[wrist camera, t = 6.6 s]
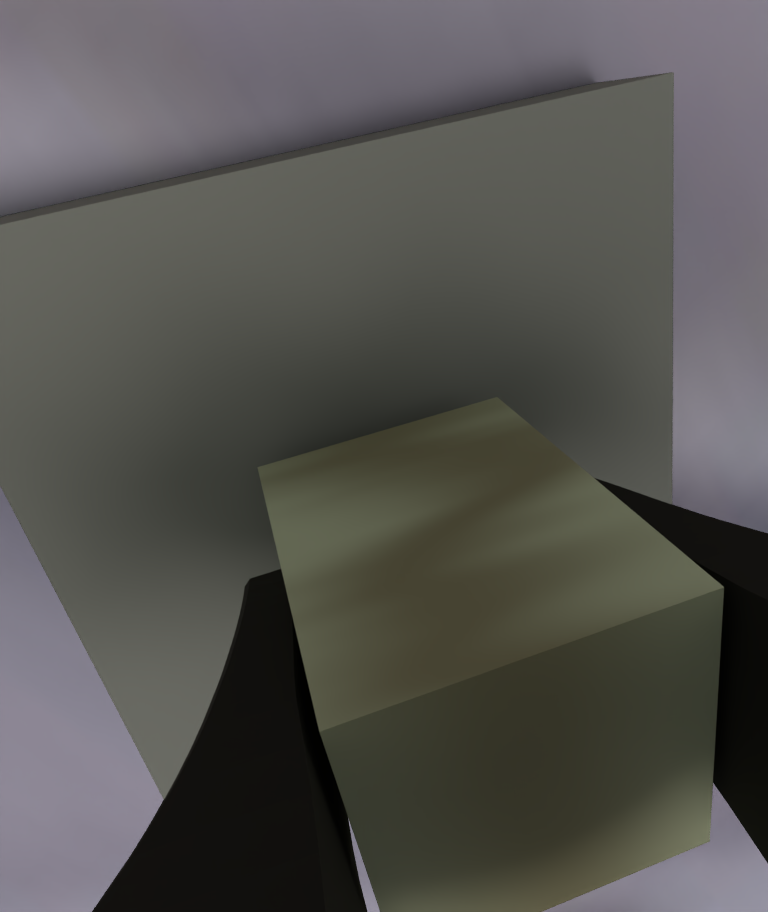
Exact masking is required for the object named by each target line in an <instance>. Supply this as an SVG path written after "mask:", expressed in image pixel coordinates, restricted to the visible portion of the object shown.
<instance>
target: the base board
mask: <svg viewBox="0 0 768 912" xmlns="http://www.w3.org/2000/svg"><path fill="white" fill-rule="evenodd" d="M673 100H674V72H672V73H665V74H658V75H650V76H643V77H636V78H628V79H621V80H614V81H606V82H599V83H594V84H589V85H585V86H580V87H576V88H571V89H567V90H562V91H558V92H554V93H549V94H545V95H540V96H536V97H531V98H527V99H522V100H518V101H514V102H509V103H505V104H500V105H496V106H491V107H487V108H482V109H478V110H473V111H469V112H465V113H460V114H456V115H451V116H447V117H442V118H438V119H433V120H429V121H425V122H420V123H416V124H411V125H407V126H402V127H398V128H393V129H389V130H385V131H380V132H376V133H371V134H367V135H362V136H358V137H353V138H349V139H344V140H340V141H336V142H331V143H327V144H322V145H318V146H313V147H309V148H304V149H300V150H296V151H291V152H287V153H282V154H278V155H273V156H269V157H264V158H260V159H256V160H251V161H247V162H242V163H238V164H233V165H229V166H224V167H220V168H215V169H211V170H207V171H202V172H198V173H193V174H189V175H184V176H180V177H175V178H171V179H167V180H162V181H158V182H153V183H149V184H144V185H140V186H135V187H131V188H127V189H122V190H118V191H113V192H109V193H104V194H100V195H95V196H91V197H86V198H82V199H78V200H73V201H69V202H64V203H60V204H55V205H51V206H46V207H42V208H38V209H33V210H29V211H24V212H20V213H15V214H11V215H6V216H2V217H0V486H1V488H2V490H3V492H4V494H5V496H6V498H7V499H8V501H9V503H10V505H11V507H12V509H13V511H14V513H15V515H16V517H17V519H18V521H19V522H20V524H21V526H22V528H23V530H24V532H25V534H26V536H27V538H28V540H29V542H30V544H31V546H32V547H33V549H34V551H35V553H36V555H37V557H38V559H39V561H40V563H41V565H42V567H43V569H44V570H45V572H46V574H47V576H48V578H49V580H50V582H51V584H52V586H53V588H54V590H55V592H56V593H57V595H58V597H59V599H60V601H61V603H62V605H63V607H64V609H65V611H66V613H67V615H68V616H69V618H70V620H71V622H72V624H73V626H74V628H75V630H76V632H77V634H78V636H79V638H80V640H81V641H82V643H83V645H84V647H85V649H86V651H87V653H88V655H89V657H90V659H91V661H92V663H93V664H94V666H95V668H96V670H97V672H98V674H99V676H100V678H101V680H102V682H103V684H104V686H105V687H106V689H107V691H108V693H109V695H110V697H111V699H112V701H113V703H114V705H115V707H116V709H117V710H118V712H119V714H120V716H121V718H122V720H123V722H124V724H125V726H126V728H127V730H128V732H129V734H130V735H131V737H132V739H133V741H134V743H135V745H136V747H137V749H138V751H139V753H140V755H141V757H142V758H143V760H144V762H145V764H146V766H147V768H148V770H149V772H150V774H151V776H152V778H153V780H154V781H155V783H156V785H157V787H158V789H159V791H160V793H161V795H162V797H163V799H165V797H166V795H167V793H168V792H169V790H170V788H171V786H172V784H173V783H174V781H175V779H176V777H177V775H178V773H179V771H180V769H181V767H182V765H183V763H184V761H185V759H186V757H187V755H188V753H189V751H190V749H191V747H192V745H193V743H194V740H195V738H196V736H197V734H198V732H199V729H200V727H201V725H202V723H203V720H204V718H205V715H206V713H207V710H208V708H209V705H210V703H211V700H212V698H213V695H214V693H215V690H216V688H217V685H218V683H219V680H220V677H221V674H222V672H223V668H224V665H225V662H226V659H227V656H228V653H229V650H230V647H231V644H232V640H233V637H234V634H235V630H236V626H237V622H238V619H239V615H240V610H241V606H242V601H243V595H244V588H245V585H246V584H247V582H248V581H249V579H250V578H253V577H256V576H260V575H263V574H266V573H269V572H272V571H275V570H279V569H281V566H280V562H279V557H278V553H277V549H276V544H275V540H274V536H273V532H272V527H271V523H270V519H269V515H268V510H267V506H266V502H265V497H264V493H263V489H262V485H261V480H260V476H259V472H258V468H257V467H260V466H264V465H267V464H270V463H274V462H277V461H281V460H284V459H287V458H291V457H294V456H298V455H301V454H304V453H308V452H311V451H315V450H318V449H321V448H325V447H328V446H332V445H335V444H338V443H342V442H345V441H349V440H352V439H355V438H359V437H362V436H366V435H369V434H373V433H376V432H379V431H383V430H386V429H390V428H393V427H396V426H400V425H403V424H407V423H410V422H413V421H417V420H420V419H424V418H427V417H430V416H434V415H437V414H441V413H444V412H447V411H451V410H454V409H458V408H461V407H464V406H468V405H471V404H475V403H478V402H481V401H485V400H488V399H492V398H495V397H498V398H499V399H500V400H501V401H503V402H504V403H505V404H506V405H507V406H509V407H510V408H511V409H512V410H513V411H515V412H516V413H517V414H518V415H519V416H521V417H522V418H523V419H524V420H525V421H526V422H528V423H529V424H530V425H531V426H532V427H534V428H535V429H536V430H537V431H538V432H540V433H541V434H542V435H543V436H544V437H546V438H547V439H548V440H549V441H550V442H552V443H553V444H554V445H555V446H556V447H557V448H559V449H560V450H561V451H562V452H563V453H565V454H566V455H567V456H568V457H569V458H571V459H572V460H573V461H574V462H575V463H577V464H578V465H579V466H580V467H581V468H583V469H584V470H585V471H586V472H587V473H589V474H590V475H591V476H592V477H593V478H596V479H599V480H602V481H605V482H608V483H611V484H614V485H617V486H620V487H623V488H626V489H629V490H631V491H634V492H637V493H640V494H643V495H646V496H649V497H651V498H654V499H657V500H660V501H663V502H666V503H669V504H672V404H673Z"/></svg>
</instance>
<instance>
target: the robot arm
mask: <svg viewBox="0 0 768 912" xmlns="http://www.w3.org/2000/svg"><path fill="white" fill-rule="evenodd" d="M594 479H596V478H594ZM596 480H597V481H598V482H599V483H600V484H602V485H603V486H604V487H605V488H606V489H608V490H609V491H610V492H611V493H612V494H614V495H615V496H616V497H617V498H618V499H620V500H621V501H622V502H623V503H624V504H625V505H627V506H628V507H629V508H630V509H631V510H633V511H634V512H635V513H636V514H637V515H639V516H640V517H641V518H642V519H643V520H645V521H646V522H647V523H648V524H649V525H651V526H652V527H653V528H654V529H655V530H657V531H658V532H659V533H660V534H661V535H662V536H664V537H665V538H666V539H667V540H668V541H670V542H671V543H672V544H673V545H674V546H676V547H677V548H678V549H679V550H680V551H682V552H683V553H684V554H685V555H686V556H688V557H689V558H690V559H691V560H692V561H693V562H695V563H696V564H697V565H698V566H699V567H701V568H702V569H703V570H704V571H705V572H707V573H708V574H709V575H710V576H711V577H713V578H714V579H715V580H716V581H717V582H719V583H720V584H721V585H722V586H723V587H724V598H723V615H722V632H721V650H720V667H719V685H718V702H717V720H716V737H715V754H714V772H713V783H714V784H715V786H716V787H717V789H718V790H719V791H720V793H721V794H722V796H723V797H724V799H725V800H726V801H727V803H728V804H729V806H730V807H731V809H732V810H733V812H734V813H735V815H736V816H737V818H738V819H739V821H740V822H741V824H742V825H743V827H744V828H745V830H746V831H747V833H748V834H749V836H750V837H751V839H752V840H753V842H754V843H755V845H756V846H757V848H758V849H759V851H760V852H761V854H762V855H763V857H764V858H765V860H766V861H767V863H768V533H764V532H761V531H757V530H754V529H750V528H746V527H743V526H739V525H736V524H732V523H729V522H725V521H722V520H718V519H715V518H712V517H709V516H705V515H702V514H699V513H696V512H693V511H690V510H687V509H684V508H681V507H678V506H675V505H672V504H669V503H666V502H663V501H660V500H657V499H654V498H651V497H649V496H646V495H643V494H640V493H637V492H634V491H631V490H629V489H626V488H623V487H620V486H617V485H614V484H611V483H608V482H605V481H602V480H599V479H596ZM92 912H367V908H366V904H365V901H364V897H363V893H362V889H361V885H360V881H359V876H358V871H357V866H356V861H355V856H354V851H353V846H352V840H351V833H350V827H349V821H348V815H347V812H346V809H345V806H344V803H343V800H342V797H341V794H340V791H339V788H338V785H337V782H336V779H335V776H334V774H333V771H332V768H331V765H330V762H329V759H328V756H327V753H326V750H325V747H324V744H323V741H322V738H321V735H320V732H319V728H318V724H317V720H316V715H315V711H314V707H313V703H312V698H311V694H310V690H309V685H308V681H307V677H306V673H305V668H304V664H303V660H302V656H301V651H300V647H299V643H298V638H297V634H296V630H295V626H294V621H293V617H292V613H291V609H290V604H289V600H288V596H287V591H286V587H285V583H284V579H283V574H282V570H281V569H279V570H275V571H272V572H269V573H266V574H263V575H260V576H256V577H253V578H250V579H249V581H248V582H247V584H246V585H245V588H244V595H243V601H242V606H241V610H240V615H239V619H238V622H237V626H236V630H235V634H234V637H233V640H232V644H231V647H230V650H229V653H228V656H227V659H226V662H225V665H224V668H223V672H222V674H221V677H220V680H219V683H218V685H217V688H216V690H215V693H214V695H213V698H212V700H211V703H210V705H209V708H208V710H207V713H206V715H205V718H204V720H203V723H202V725H201V727H200V729H199V732H198V734H197V736H196V738H195V740H194V743H193V745H192V747H191V749H190V751H189V753H188V755H187V757H186V759H185V761H184V763H183V765H182V767H181V769H180V771H179V773H178V775H177V777H176V779H175V781H174V783H173V784H172V786H171V788H170V790H169V792H168V793H167V795H166V797H165V799H164V800H163V802H162V804H161V806H160V807H159V809H158V811H157V813H156V814H155V816H154V818H153V820H152V821H151V823H150V825H149V827H148V828H147V830H146V832H145V833H144V835H143V836H142V838H141V840H140V841H139V843H138V845H137V846H136V848H135V849H134V851H133V852H132V854H131V856H130V857H129V859H128V860H127V862H126V863H125V864H124V866H123V867H122V869H121V870H120V872H119V873H118V875H117V876H116V878H115V879H114V881H113V882H112V883H111V885H110V886H109V888H108V889H107V891H106V892H105V894H104V895H103V897H102V898H101V899H100V901H99V902H98V904H97V905H96V907H95V908H94V910H93V911H92Z"/></svg>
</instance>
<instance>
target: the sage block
mask: <svg viewBox="0 0 768 912" xmlns="http://www.w3.org/2000/svg"><path fill="white" fill-rule="evenodd" d="M257 468H258V472H259V476H260V480H261V485H262V489H263V493H264V497H265V502H266V506H267V510H268V515H269V519H270V523H271V527H272V532H273V536H274V540H275V544H276V549H277V553H278V557H279V562H280V566H281V570H282V574H283V579H284V583H285V587H286V591H287V596H288V600H289V604H290V609H291V613H292V617H293V621H294V626H295V630H296V634H297V638H298V643H299V647H300V651H301V656H302V660H303V664H304V668H305V673H306V677H307V681H308V685H309V690H310V694H311V698H312V703H313V707H314V711H315V715H316V720H317V724H318V728H319V732H320V735H321V738H322V741H323V744H324V747H325V750H326V753H327V756H328V759H329V762H330V765H331V768H332V771H333V774H334V776H335V779H336V782H337V785H338V788H339V791H340V794H341V797H342V800H343V803H344V806H345V809H346V812H347V815H348V818H349V821H350V824H351V827H352V830H353V833H354V835H355V838H356V841H357V844H358V847H359V850H360V853H361V856H362V859H363V862H364V865H365V868H366V871H367V874H368V877H369V880H370V883H371V886H372V889H373V892H374V894H375V897H376V900H377V903H378V906H379V909H380V912H542V911H544V910H547V909H549V908H552V907H554V906H556V905H559V904H561V903H563V902H566V901H568V900H571V899H573V898H575V897H578V896H580V895H583V894H585V893H587V892H590V891H592V890H595V889H597V888H599V887H602V886H604V885H606V884H609V883H611V882H614V881H616V880H618V879H621V878H623V877H626V876H628V875H630V874H633V873H635V872H638V871H640V870H642V869H645V868H647V867H649V866H652V865H654V864H657V863H659V862H661V861H664V860H666V859H669V858H671V857H673V856H676V855H678V854H681V853H683V852H685V851H688V850H690V849H692V848H695V847H697V846H700V845H702V844H704V843H707V842H709V841H710V824H711V807H712V789H713V772H714V754H715V737H716V720H717V702H718V685H719V667H720V650H721V632H722V615H723V598H724V587H723V586H722V585H721V584H720V583H719V582H717V581H716V580H715V579H714V578H713V577H711V576H710V575H709V574H708V573H707V572H705V571H704V570H703V569H702V568H701V567H699V566H698V565H697V564H696V563H695V562H693V561H692V560H691V559H690V558H689V557H688V556H686V555H685V554H684V553H683V552H682V551H680V550H679V549H678V548H677V547H676V546H674V545H673V544H672V543H671V542H670V541H668V540H667V539H666V538H665V537H664V536H662V535H661V534H660V533H659V532H658V531H657V530H655V529H654V528H653V527H652V526H651V525H649V524H648V523H647V522H646V521H645V520H643V519H642V518H641V517H640V516H639V515H637V514H636V513H635V512H634V511H633V510H631V509H630V508H629V507H628V506H627V505H625V504H624V503H623V502H622V501H621V500H620V499H618V498H617V497H616V496H615V495H614V494H612V493H611V492H610V491H609V490H608V489H606V488H605V487H604V486H603V485H602V484H600V483H599V482H598V481H597V480H596V479H594V478H593V477H592V476H591V475H590V474H589V473H587V472H586V471H585V470H584V469H583V468H581V467H580V466H579V465H578V464H577V463H575V462H574V461H573V460H572V459H571V458H569V457H568V456H567V455H566V454H565V453H563V452H562V451H561V450H560V449H559V448H557V447H556V446H555V445H554V444H553V443H552V442H550V441H549V440H548V439H547V438H546V437H544V436H543V435H542V434H541V433H540V432H538V431H537V430H536V429H535V428H534V427H532V426H531V425H530V424H529V423H528V422H526V421H525V420H524V419H523V418H522V417H521V416H519V415H518V414H517V413H516V412H515V411H513V410H512V409H511V408H510V407H509V406H507V405H506V404H505V403H504V402H503V401H501V400H500V399H499V398H498V397H495V398H492V399H488V400H485V401H481V402H478V403H475V404H471V405H468V406H464V407H461V408H458V409H454V410H451V411H447V412H444V413H441V414H437V415H434V416H430V417H427V418H424V419H420V420H417V421H413V422H410V423H407V424H403V425H400V426H396V427H393V428H390V429H386V430H383V431H379V432H376V433H373V434H369V435H366V436H362V437H359V438H355V439H352V440H349V441H345V442H342V443H338V444H335V445H332V446H328V447H325V448H321V449H318V450H315V451H311V452H308V453H304V454H301V455H298V456H294V457H291V458H287V459H284V460H281V461H277V462H274V463H270V464H267V465H264V466H260V467H257Z"/></svg>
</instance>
